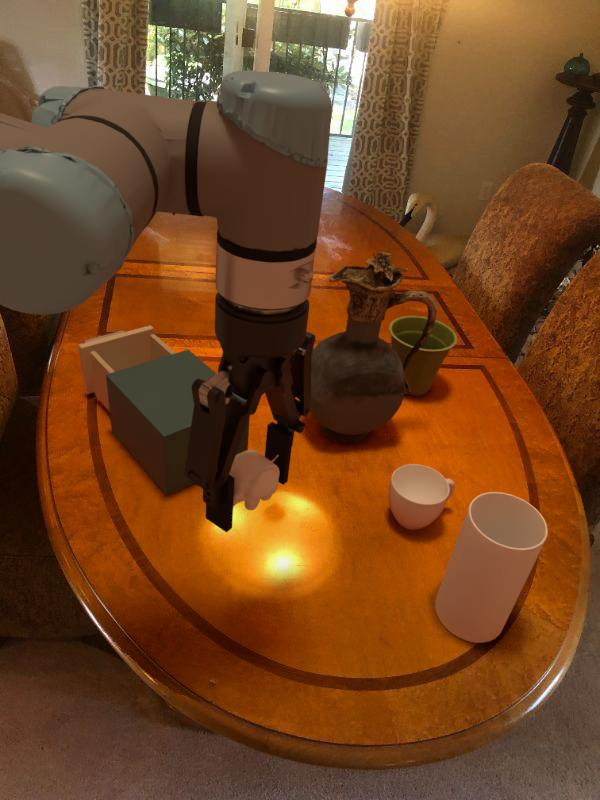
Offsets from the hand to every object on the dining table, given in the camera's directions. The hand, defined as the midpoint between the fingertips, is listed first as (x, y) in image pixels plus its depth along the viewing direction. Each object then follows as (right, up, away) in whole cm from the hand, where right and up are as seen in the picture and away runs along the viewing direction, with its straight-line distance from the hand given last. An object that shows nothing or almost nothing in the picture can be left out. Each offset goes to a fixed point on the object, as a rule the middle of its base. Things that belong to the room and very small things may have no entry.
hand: (248, 498), depth 62 cm
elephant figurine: (0, 0, 0) cm, 0 cm away
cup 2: (+25, -16, +12) cm, 32 cm away
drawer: (-22, +11, +39) cm, 46 cm away
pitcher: (+14, +5, +39) cm, 42 cm away
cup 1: (+22, -6, +24) cm, 33 cm away
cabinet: (-13, +3, +31) cm, 34 cm away
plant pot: (+25, +12, +51) cm, 58 cm away
